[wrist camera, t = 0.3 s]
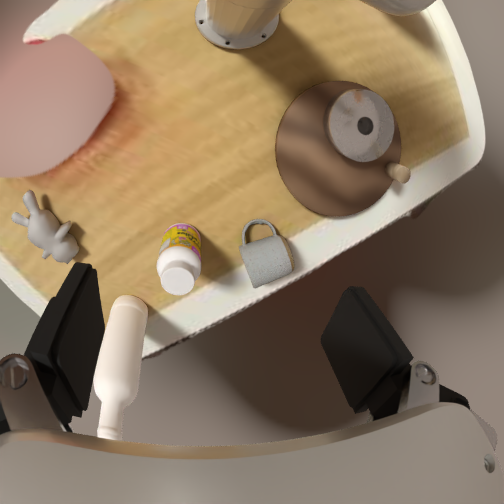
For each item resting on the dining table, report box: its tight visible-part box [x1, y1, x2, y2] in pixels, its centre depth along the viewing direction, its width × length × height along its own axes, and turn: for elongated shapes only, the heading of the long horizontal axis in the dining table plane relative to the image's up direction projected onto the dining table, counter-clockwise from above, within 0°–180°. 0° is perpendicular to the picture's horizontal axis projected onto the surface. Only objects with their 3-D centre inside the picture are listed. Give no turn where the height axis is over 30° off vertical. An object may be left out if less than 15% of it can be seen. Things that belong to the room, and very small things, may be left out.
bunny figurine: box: [12, 190, 80, 264], centre depth 38 cm, size 10×5×15 cm
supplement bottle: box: [157, 223, 201, 295], centre depth 42 cm, size 7×7×13 cm
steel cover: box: [323, 89, 394, 162], centre depth 38 cm, size 12×12×3 cm
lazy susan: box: [275, 81, 410, 216], centre depth 40 cm, size 24×24×6 cm
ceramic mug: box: [239, 219, 295, 288], centre depth 47 cm, size 11×8×8 cm
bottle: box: [93, 295, 148, 441], centre depth 40 cm, size 8×8×30 cm
